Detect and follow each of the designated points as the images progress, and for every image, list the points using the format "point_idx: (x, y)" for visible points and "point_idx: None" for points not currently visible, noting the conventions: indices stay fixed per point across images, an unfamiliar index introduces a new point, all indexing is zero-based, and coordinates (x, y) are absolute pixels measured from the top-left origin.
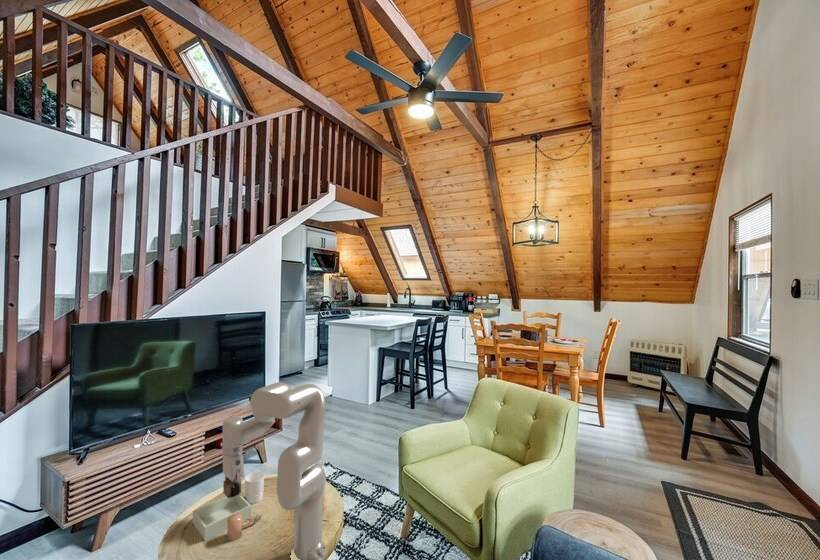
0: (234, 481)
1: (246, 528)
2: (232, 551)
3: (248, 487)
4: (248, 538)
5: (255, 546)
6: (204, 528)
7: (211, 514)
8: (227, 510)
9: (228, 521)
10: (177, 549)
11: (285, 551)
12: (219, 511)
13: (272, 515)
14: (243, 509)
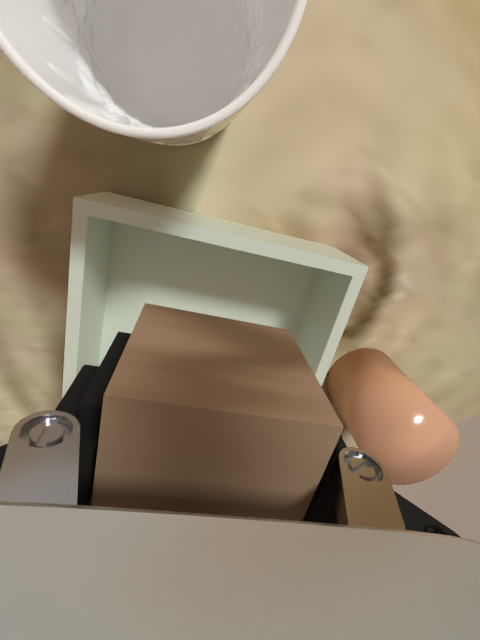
0: (248, 486)
1: (376, 318)
2: None
3: (189, 140)
4: (438, 355)
5: None
6: None
7: (99, 365)
8: (145, 293)
9: (401, 484)
10: None
11: None
12: (110, 326)
13: (454, 150)
14: (344, 323)
